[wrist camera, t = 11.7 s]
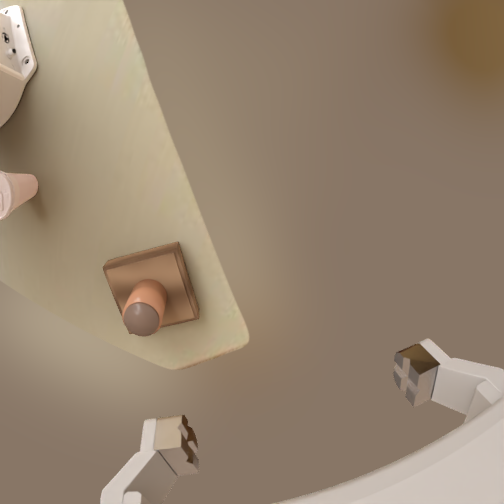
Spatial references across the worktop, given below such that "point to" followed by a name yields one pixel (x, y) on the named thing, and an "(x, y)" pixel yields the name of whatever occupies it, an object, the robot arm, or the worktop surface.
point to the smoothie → (15, 191)
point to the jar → (145, 307)
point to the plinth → (162, 270)
